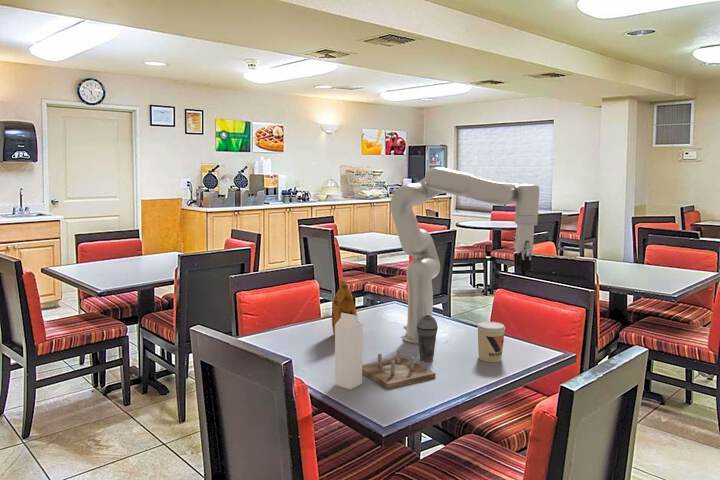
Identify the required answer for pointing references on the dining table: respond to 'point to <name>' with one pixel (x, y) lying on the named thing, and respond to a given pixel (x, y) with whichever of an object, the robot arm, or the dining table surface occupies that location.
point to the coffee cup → (490, 341)
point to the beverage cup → (426, 336)
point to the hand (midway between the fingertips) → (523, 268)
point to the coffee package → (342, 303)
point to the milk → (348, 351)
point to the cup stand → (396, 371)
